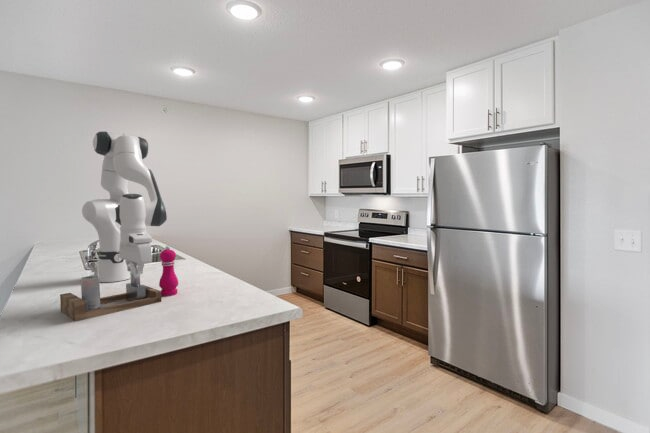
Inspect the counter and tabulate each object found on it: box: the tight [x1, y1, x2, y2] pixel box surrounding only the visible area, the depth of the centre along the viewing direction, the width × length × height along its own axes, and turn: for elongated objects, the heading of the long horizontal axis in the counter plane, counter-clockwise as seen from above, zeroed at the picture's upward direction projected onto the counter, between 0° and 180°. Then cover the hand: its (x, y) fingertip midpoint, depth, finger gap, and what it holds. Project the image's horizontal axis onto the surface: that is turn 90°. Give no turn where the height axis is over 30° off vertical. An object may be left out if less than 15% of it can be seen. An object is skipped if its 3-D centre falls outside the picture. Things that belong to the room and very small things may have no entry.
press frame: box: [59, 284, 162, 322], centre depth 131 cm, size 16×28×6 cm, turn 140°
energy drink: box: [80, 275, 101, 311], centre depth 126 cm, size 5×5×12 cm
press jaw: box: [125, 262, 146, 302], centre depth 137 cm, size 10×3×15 cm, turn 50°
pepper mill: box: [158, 245, 179, 297], centre depth 147 cm, size 7×7×20 cm
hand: (135, 272), depth 137 cm, fingers open, 7 cm apart
